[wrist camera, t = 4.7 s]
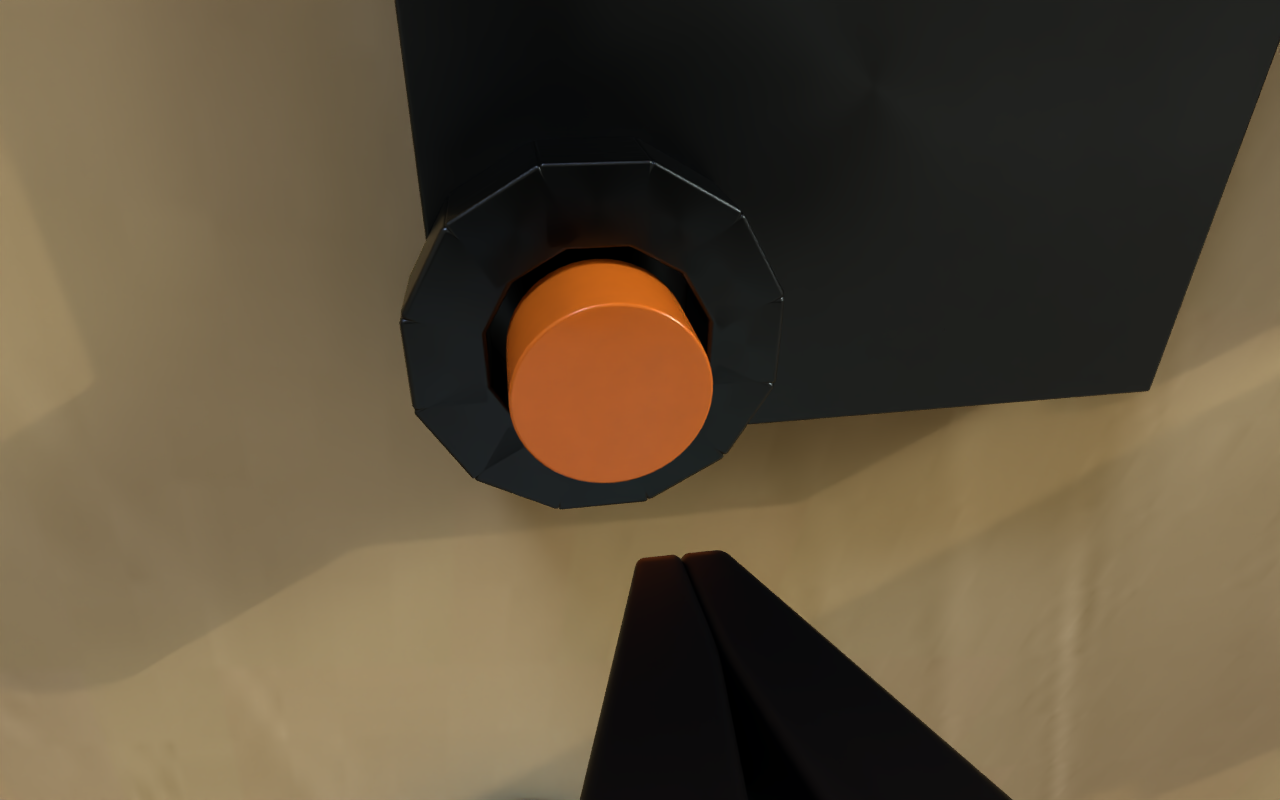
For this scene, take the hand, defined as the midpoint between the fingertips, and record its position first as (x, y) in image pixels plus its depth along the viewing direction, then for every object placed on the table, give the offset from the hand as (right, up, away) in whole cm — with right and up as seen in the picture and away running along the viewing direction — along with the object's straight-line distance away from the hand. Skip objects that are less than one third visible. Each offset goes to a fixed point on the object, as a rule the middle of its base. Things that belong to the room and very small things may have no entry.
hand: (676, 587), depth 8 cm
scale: (+3, +8, +6) cm, 10 cm away
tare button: (-1, +3, +5) cm, 5 cm away
